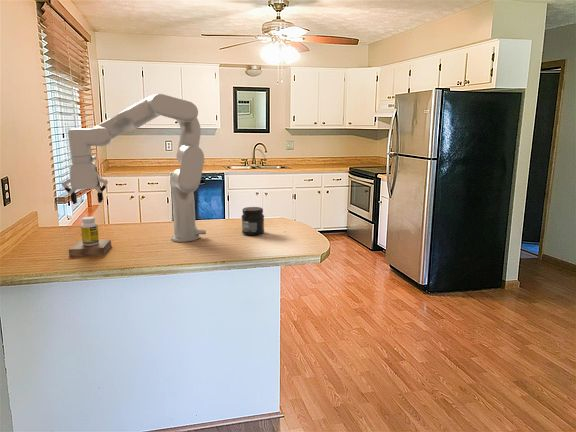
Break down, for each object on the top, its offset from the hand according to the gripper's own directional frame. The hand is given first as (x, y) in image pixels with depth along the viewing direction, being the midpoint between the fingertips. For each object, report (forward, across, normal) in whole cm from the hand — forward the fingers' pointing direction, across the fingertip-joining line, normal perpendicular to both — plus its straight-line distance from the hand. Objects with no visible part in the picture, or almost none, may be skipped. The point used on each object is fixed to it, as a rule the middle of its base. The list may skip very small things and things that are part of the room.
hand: (87, 202), depth 182 cm
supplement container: (+22, -67, -18) cm, 73 cm away
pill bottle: (+17, +1, 0) cm, 17 cm away
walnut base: (+20, +1, 0) cm, 20 cm away
